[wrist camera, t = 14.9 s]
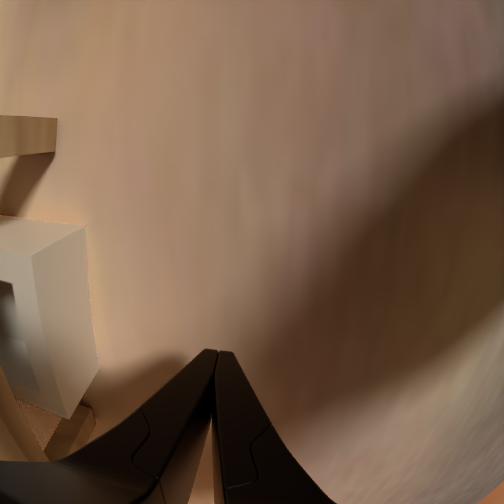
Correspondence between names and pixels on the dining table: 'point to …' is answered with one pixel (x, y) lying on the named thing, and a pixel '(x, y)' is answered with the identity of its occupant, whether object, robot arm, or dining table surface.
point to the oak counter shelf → (3, 401)
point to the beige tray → (46, 313)
